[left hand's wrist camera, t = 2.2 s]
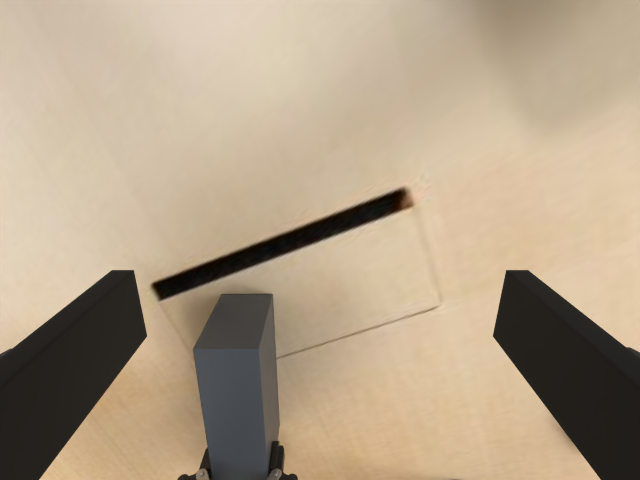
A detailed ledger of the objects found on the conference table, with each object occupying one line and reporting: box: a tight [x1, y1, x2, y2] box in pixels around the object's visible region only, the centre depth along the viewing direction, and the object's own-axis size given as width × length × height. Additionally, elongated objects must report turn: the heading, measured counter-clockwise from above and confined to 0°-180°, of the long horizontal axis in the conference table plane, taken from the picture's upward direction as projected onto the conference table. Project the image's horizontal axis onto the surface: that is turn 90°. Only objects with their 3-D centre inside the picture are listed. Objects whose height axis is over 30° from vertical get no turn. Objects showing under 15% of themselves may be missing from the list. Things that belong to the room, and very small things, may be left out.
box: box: [193, 294, 280, 480], centre depth 42 cm, size 21×6×10 cm, turn 0°
